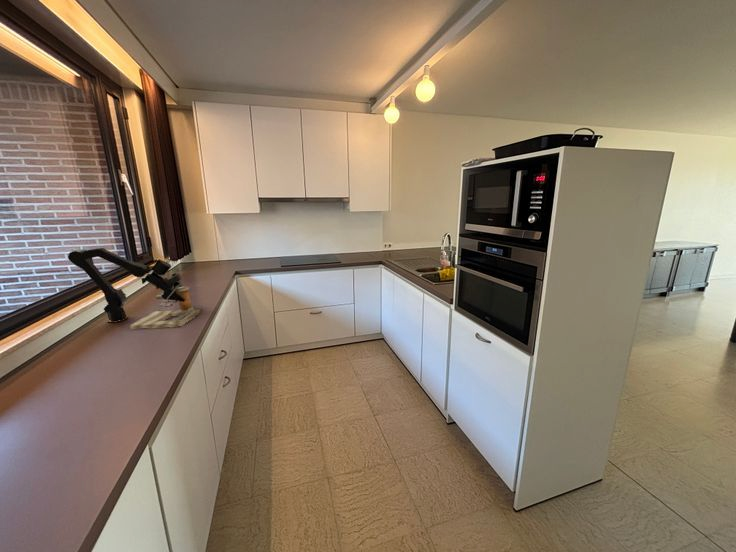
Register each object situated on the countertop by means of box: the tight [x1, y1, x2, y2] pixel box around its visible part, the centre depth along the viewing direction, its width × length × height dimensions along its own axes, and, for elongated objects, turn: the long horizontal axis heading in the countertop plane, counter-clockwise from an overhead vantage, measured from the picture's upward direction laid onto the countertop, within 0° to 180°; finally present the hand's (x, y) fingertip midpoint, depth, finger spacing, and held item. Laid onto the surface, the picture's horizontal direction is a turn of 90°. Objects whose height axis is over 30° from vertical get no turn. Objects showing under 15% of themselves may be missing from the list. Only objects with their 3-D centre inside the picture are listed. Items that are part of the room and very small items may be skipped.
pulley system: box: [155, 292, 176, 306], centre depth 189 cm, size 27×5×15 cm
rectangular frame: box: [129, 309, 201, 330], centre depth 154 cm, size 24×18×2 cm
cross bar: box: [171, 307, 195, 323], centre depth 154 cm, size 2×16×2 cm, turn 1°
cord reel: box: [175, 286, 194, 311], centre depth 167 cm, size 6×6×13 cm
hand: (186, 298), depth 167 cm, fingers open, 9 cm apart
